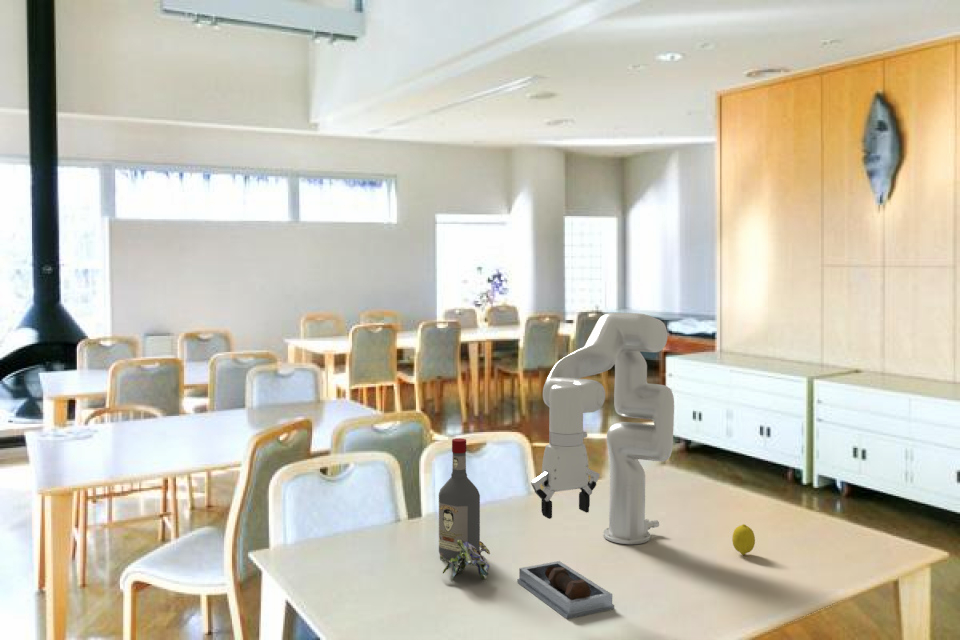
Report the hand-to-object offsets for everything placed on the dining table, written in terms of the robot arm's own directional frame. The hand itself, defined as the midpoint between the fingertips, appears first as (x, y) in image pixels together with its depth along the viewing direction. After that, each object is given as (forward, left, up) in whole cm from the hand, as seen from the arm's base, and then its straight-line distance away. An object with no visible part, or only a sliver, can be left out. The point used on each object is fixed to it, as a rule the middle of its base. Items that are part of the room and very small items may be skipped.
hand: (565, 513), depth 186 cm
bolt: (+1, +1, -18) cm, 18 cm away
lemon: (-54, -1, -19) cm, 57 cm away
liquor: (+12, -32, -19) cm, 39 cm away
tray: (+1, +1, -18) cm, 18 cm away
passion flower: (+17, -17, -19) cm, 31 cm away
